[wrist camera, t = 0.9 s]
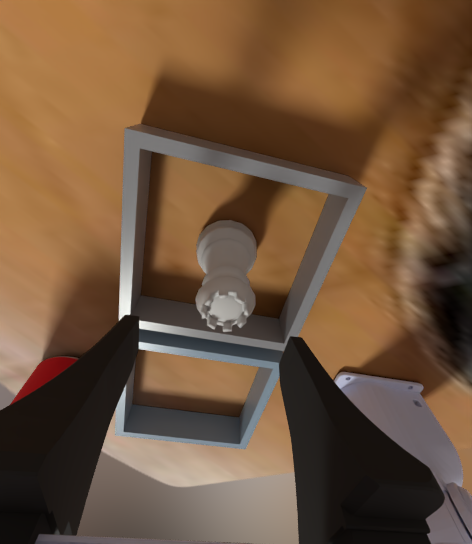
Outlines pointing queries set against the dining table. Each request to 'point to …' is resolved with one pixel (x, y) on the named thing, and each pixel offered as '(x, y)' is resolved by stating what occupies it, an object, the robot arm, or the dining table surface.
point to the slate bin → (195, 424)
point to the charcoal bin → (338, 186)
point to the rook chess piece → (226, 274)
